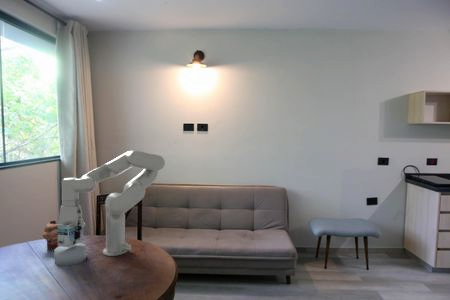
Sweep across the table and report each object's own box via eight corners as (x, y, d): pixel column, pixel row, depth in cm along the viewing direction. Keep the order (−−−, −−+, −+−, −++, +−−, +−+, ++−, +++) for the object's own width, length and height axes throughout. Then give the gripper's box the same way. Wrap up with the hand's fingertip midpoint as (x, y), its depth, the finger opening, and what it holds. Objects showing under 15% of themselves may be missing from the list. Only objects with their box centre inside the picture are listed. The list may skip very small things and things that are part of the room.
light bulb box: (69, 247, 139) (69, 225, 138) (57, 246, 140) (56, 224, 140) (84, 240, 149) (84, 219, 149) (72, 238, 151) (72, 218, 150)
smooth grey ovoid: (92, 255, 150) (92, 244, 150) (73, 267, 137) (73, 255, 136) (68, 252, 153) (68, 241, 153) (47, 264, 139) (47, 252, 139)
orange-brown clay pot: (63, 238, 173) (63, 215, 172) (81, 240, 171) (81, 217, 170) (35, 251, 153) (35, 225, 152) (56, 253, 151) (56, 227, 150)
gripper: (91, 202, 146) (91, 237, 146) (60, 200, 149) (60, 234, 150) (81, 205, 138) (81, 242, 139) (49, 203, 141) (49, 239, 142)
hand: (70, 237), depth 144 cm, fingers closed on light bulb box, 6 cm apart
